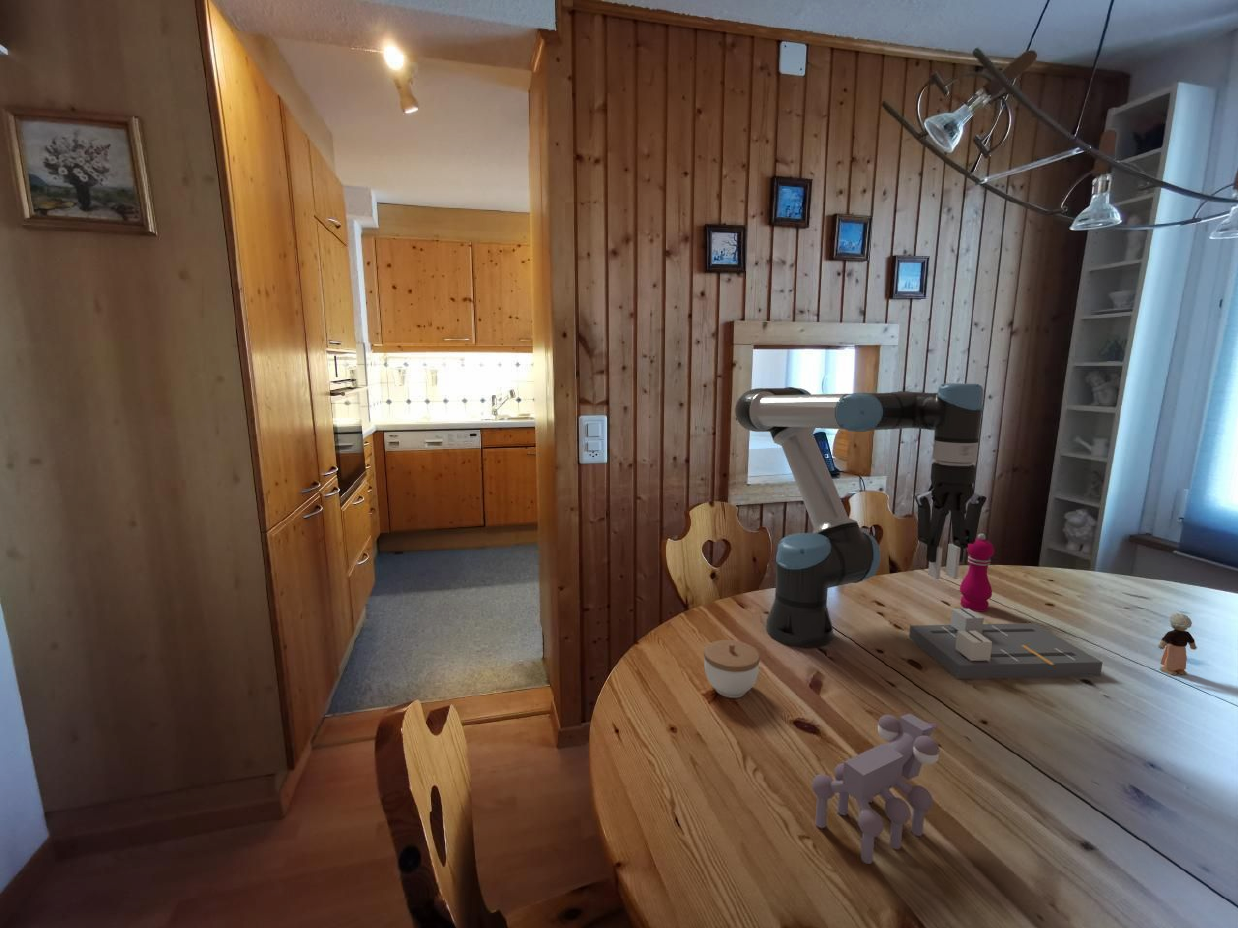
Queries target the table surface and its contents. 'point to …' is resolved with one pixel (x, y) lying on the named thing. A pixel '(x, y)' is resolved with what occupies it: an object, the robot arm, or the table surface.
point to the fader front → (973, 645)
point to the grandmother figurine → (1176, 645)
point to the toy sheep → (883, 781)
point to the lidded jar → (731, 667)
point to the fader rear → (966, 620)
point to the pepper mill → (977, 576)
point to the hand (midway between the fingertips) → (942, 576)
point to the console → (1007, 652)
